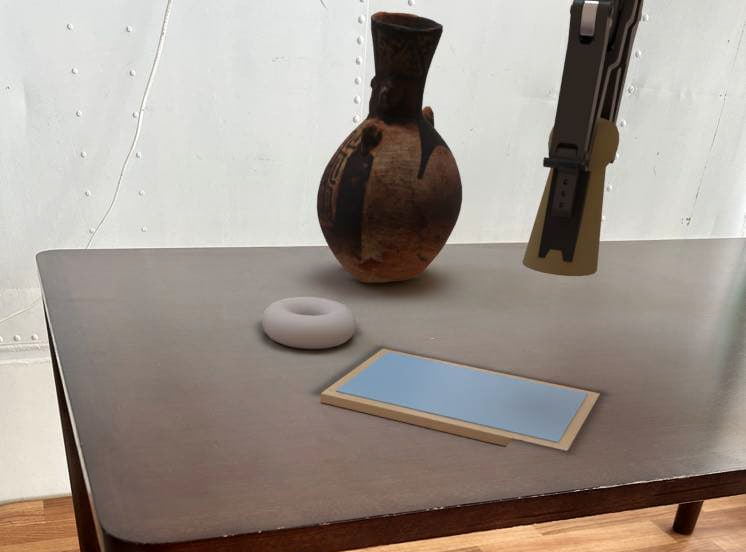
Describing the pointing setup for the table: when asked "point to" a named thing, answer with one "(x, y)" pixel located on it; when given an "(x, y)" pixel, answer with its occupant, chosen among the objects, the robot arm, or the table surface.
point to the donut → (309, 322)
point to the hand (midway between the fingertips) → (562, 252)
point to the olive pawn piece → (591, 219)
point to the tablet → (463, 400)
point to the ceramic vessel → (392, 165)
